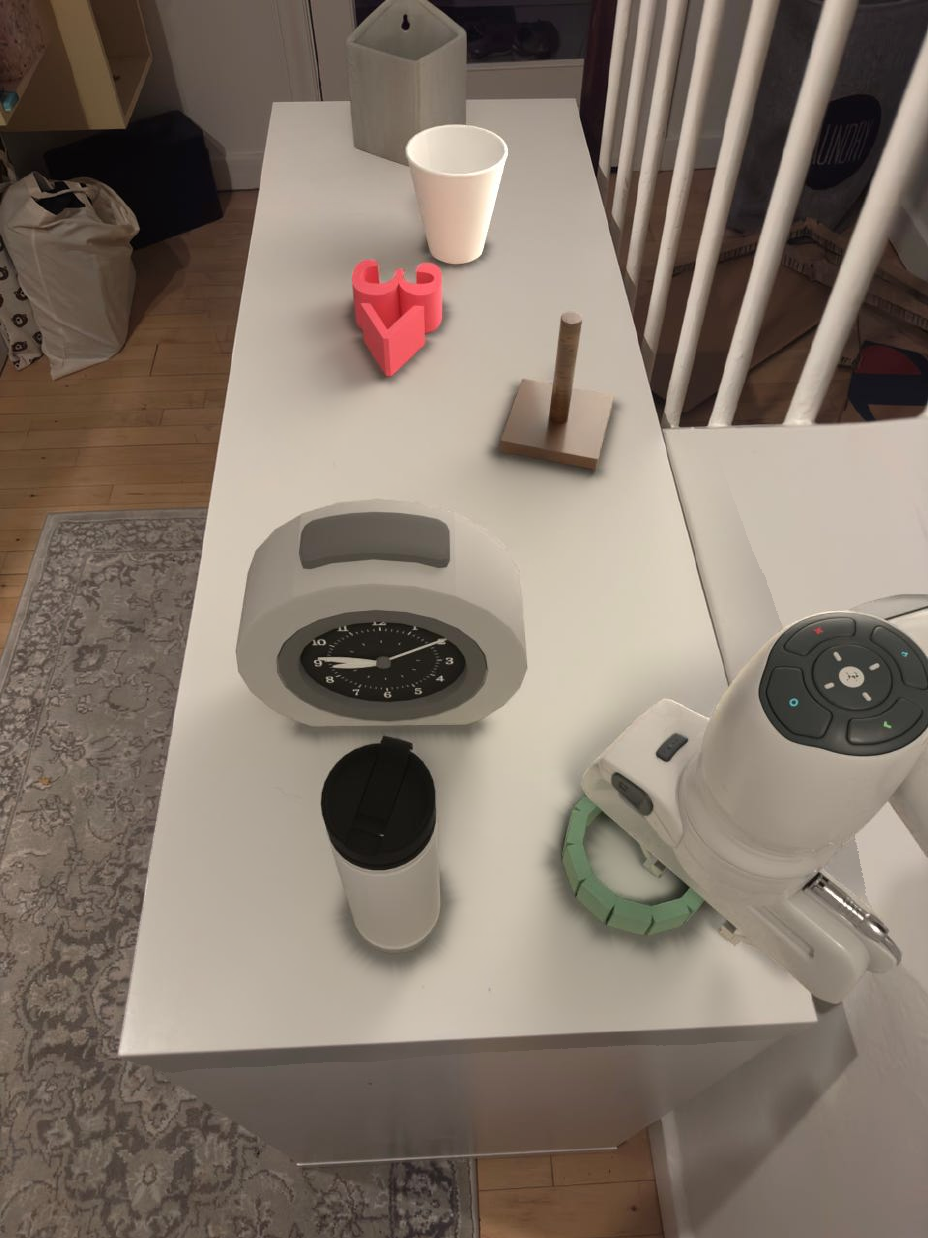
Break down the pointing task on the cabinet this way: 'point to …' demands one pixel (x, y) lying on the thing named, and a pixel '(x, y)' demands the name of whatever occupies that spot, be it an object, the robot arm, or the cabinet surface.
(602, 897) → the ring
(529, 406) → the stand
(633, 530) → the cabinet surface
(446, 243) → the cup
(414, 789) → the travel mug
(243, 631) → the alarm clock
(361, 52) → the planter
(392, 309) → the letters
